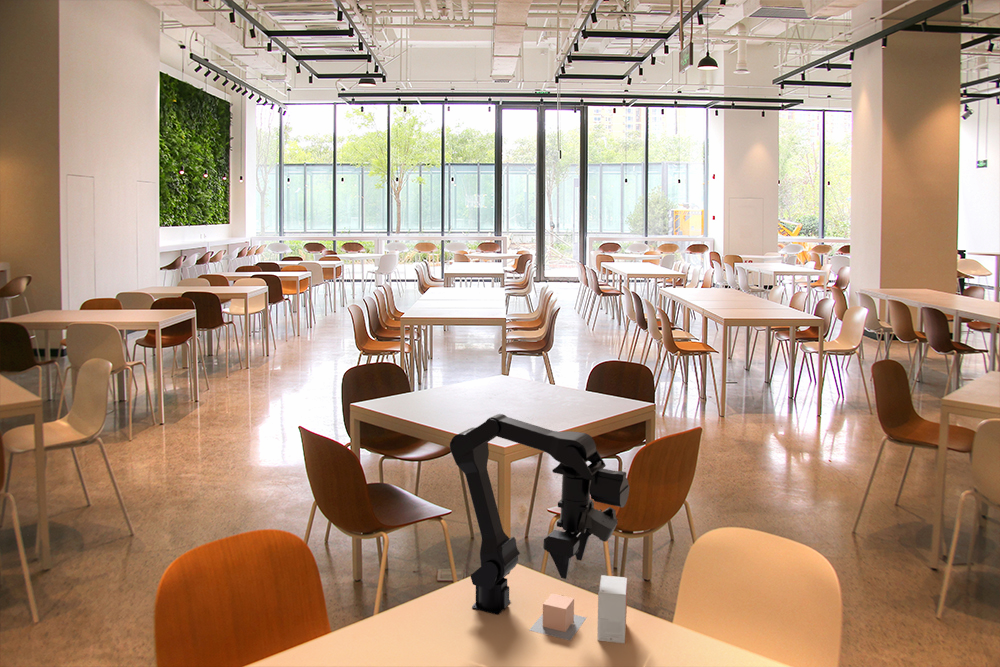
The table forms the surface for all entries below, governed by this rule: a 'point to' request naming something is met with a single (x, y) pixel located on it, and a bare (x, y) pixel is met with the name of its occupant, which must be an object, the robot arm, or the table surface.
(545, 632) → the tile
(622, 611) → the small box
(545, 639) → the table surface
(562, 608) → the block
